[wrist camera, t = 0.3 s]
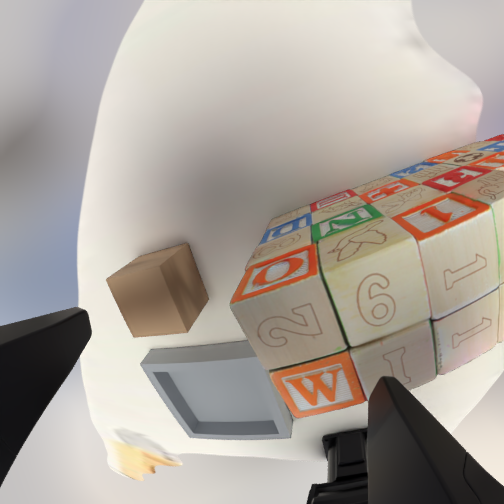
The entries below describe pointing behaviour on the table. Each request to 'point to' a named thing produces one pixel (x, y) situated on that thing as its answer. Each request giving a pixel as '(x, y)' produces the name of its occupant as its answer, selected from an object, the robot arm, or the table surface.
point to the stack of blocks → (380, 282)
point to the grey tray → (219, 392)
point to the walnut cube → (159, 292)
